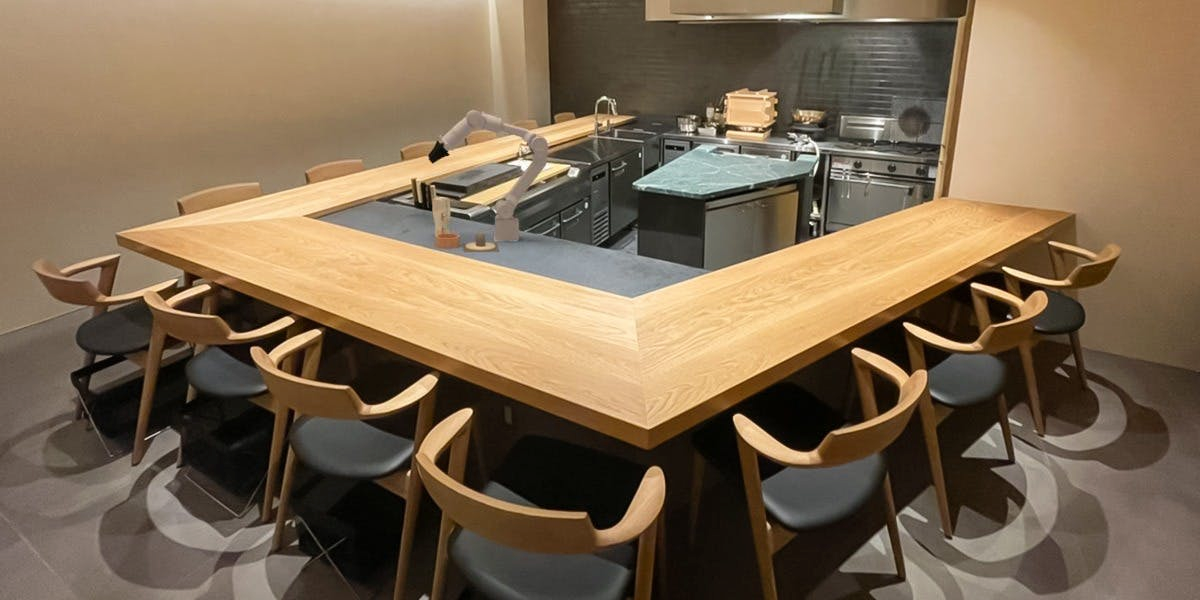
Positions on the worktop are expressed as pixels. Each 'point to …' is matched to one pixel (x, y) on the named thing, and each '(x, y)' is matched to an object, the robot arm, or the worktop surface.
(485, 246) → the lid
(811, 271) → the worktop surface
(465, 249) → the mat
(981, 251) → the worktop surface
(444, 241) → the bowl
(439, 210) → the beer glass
